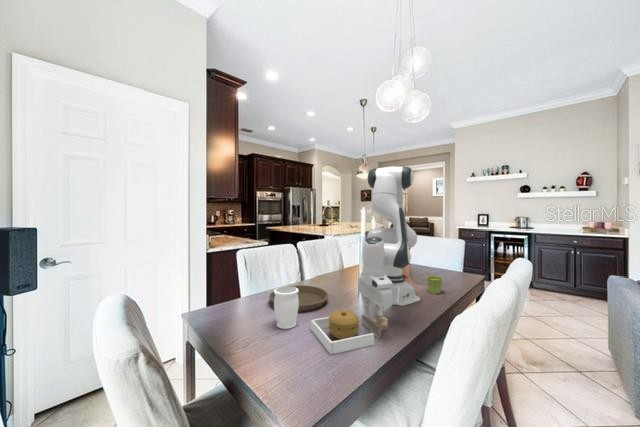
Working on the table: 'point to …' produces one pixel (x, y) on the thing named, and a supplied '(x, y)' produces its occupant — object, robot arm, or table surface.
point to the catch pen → (342, 344)
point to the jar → (286, 306)
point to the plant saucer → (308, 297)
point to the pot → (343, 324)
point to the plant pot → (434, 284)
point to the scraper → (375, 324)
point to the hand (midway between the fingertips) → (373, 310)
